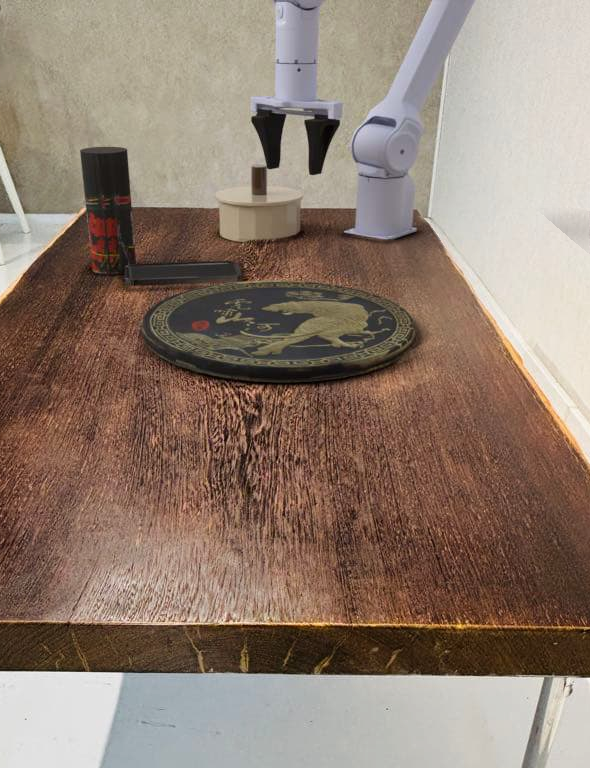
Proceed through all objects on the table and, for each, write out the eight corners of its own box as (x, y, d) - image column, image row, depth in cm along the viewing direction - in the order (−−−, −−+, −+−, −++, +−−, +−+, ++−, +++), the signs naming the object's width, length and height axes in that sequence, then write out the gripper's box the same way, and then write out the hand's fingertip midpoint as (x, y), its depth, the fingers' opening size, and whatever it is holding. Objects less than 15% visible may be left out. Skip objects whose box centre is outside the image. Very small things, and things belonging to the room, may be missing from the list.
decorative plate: (100, 354, 84) (183, 271, 109) (101, 372, 85) (183, 286, 110) (409, 379, 79) (422, 287, 104) (407, 398, 80) (420, 302, 105)
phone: (124, 264, 115) (236, 260, 116) (125, 273, 115) (236, 268, 117) (124, 280, 108) (242, 275, 110) (125, 289, 109) (242, 284, 110)
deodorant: (87, 266, 119) (74, 148, 111) (128, 261, 121) (119, 145, 113) (99, 276, 114) (87, 154, 106) (142, 271, 116) (133, 151, 108)
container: (254, 221, 143) (253, 186, 140) (315, 232, 136) (316, 196, 133) (203, 234, 135) (201, 198, 132) (265, 247, 128) (265, 209, 125)
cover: (253, 189, 141) (253, 156, 138) (320, 200, 134) (321, 164, 131) (197, 202, 132) (195, 167, 129) (265, 214, 125) (265, 176, 122)
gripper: (236, 62, 117) (237, 169, 124) (322, 66, 109) (318, 180, 117) (268, 60, 122) (267, 163, 129) (353, 64, 114) (347, 173, 121)
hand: (293, 171), depth 123 cm, fingers open, 7 cm apart
